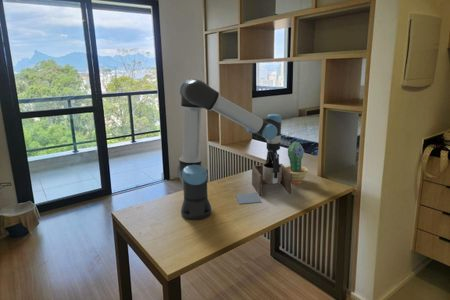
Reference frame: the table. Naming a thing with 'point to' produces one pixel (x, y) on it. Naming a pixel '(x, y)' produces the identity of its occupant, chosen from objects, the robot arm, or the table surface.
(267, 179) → the planter
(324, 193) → the table surface
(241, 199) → the mat
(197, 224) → the table surface
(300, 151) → the potted cactus
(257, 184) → the wooden cubby shelf
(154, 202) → the table surface
